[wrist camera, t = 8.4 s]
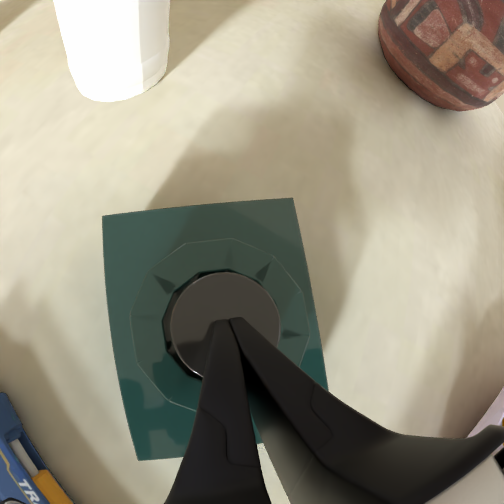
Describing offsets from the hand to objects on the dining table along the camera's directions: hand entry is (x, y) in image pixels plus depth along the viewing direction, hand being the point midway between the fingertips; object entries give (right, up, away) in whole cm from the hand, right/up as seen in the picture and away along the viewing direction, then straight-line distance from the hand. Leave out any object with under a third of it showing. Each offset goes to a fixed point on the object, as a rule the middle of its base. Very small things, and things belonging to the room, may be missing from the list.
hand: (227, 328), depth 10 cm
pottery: (+21, +24, +20) cm, 38 cm away
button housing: (-2, -2, +8) cm, 8 cm away
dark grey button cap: (-1, -1, +2) cm, 2 cm away
